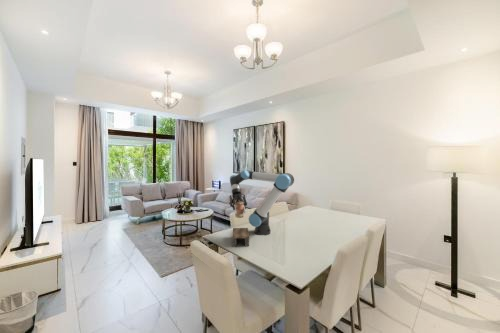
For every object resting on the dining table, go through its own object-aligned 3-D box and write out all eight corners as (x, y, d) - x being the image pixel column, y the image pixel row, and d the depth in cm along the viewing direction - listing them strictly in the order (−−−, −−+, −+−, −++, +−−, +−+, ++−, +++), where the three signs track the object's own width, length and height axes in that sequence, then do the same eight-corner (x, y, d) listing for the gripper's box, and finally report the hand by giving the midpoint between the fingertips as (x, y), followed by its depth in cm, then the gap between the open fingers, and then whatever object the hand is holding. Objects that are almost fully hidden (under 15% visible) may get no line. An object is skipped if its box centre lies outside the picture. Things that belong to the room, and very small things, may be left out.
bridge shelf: (247, 236, 192) (247, 227, 192) (248, 246, 173) (249, 236, 172) (232, 236, 192) (233, 227, 191) (232, 246, 172) (232, 236, 171)
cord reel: (243, 215, 187) (243, 201, 186) (243, 217, 180) (243, 203, 179) (235, 215, 186) (235, 201, 186) (234, 217, 179) (235, 203, 179)
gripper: (245, 192, 200) (250, 214, 185) (224, 193, 194) (227, 216, 179) (247, 187, 194) (252, 209, 180) (225, 188, 189) (229, 211, 174)
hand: (240, 213), depth 179 cm, fingers closed on cord reel, 7 cm apart
